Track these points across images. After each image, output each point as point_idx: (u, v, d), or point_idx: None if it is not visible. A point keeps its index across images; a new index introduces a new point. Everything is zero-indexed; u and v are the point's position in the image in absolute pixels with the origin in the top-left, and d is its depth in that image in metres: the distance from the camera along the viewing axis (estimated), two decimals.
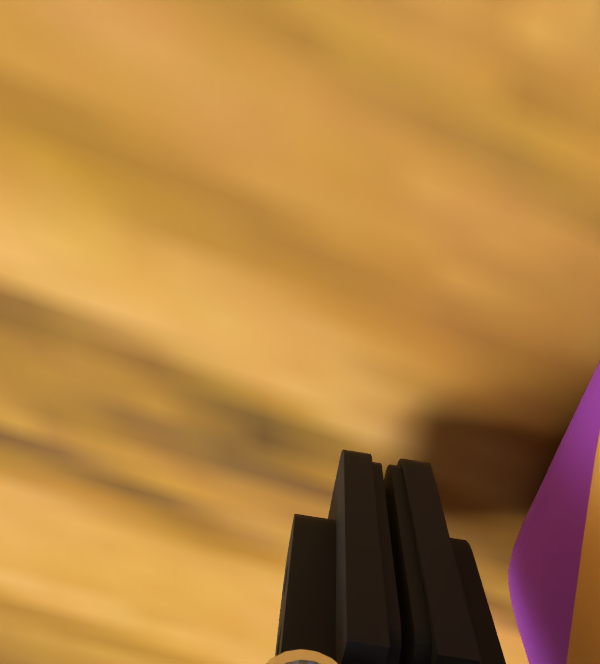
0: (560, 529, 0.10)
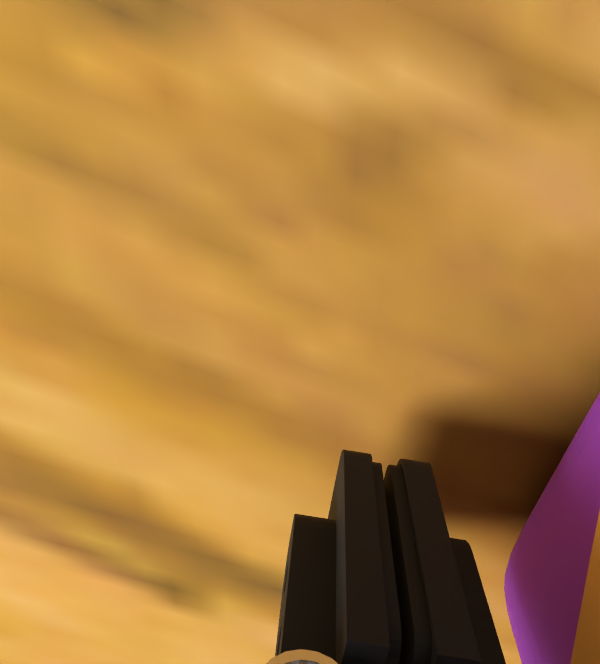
0: (565, 536, 0.10)
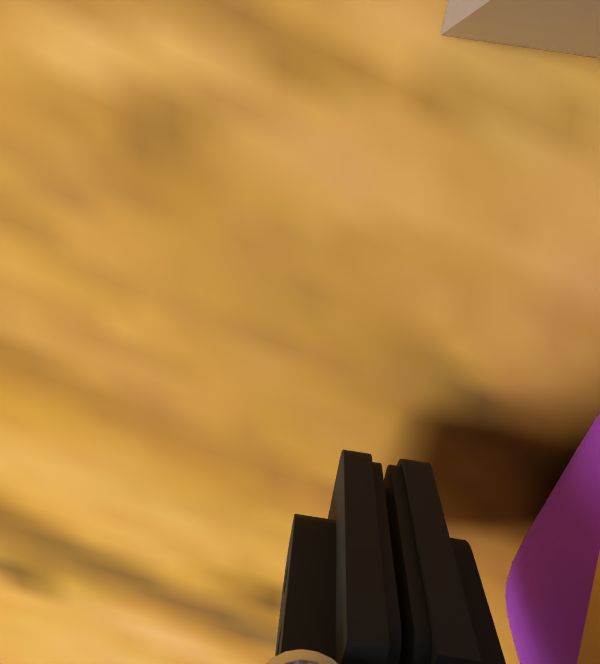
0: (568, 545, 0.10)
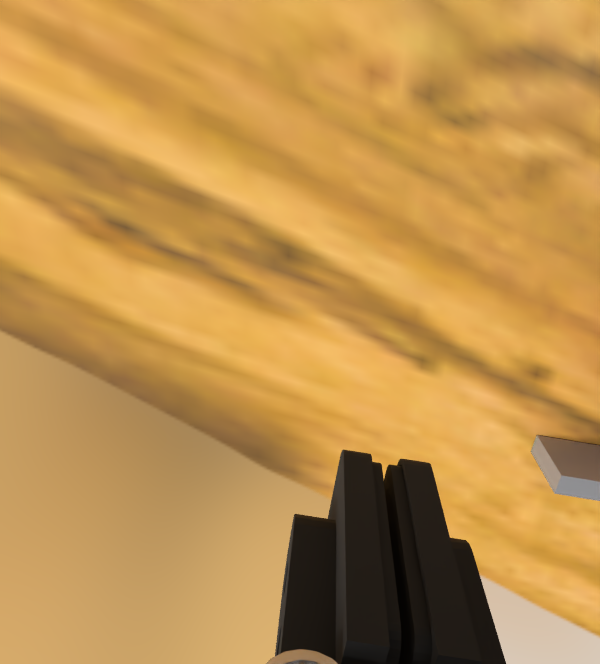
0: None
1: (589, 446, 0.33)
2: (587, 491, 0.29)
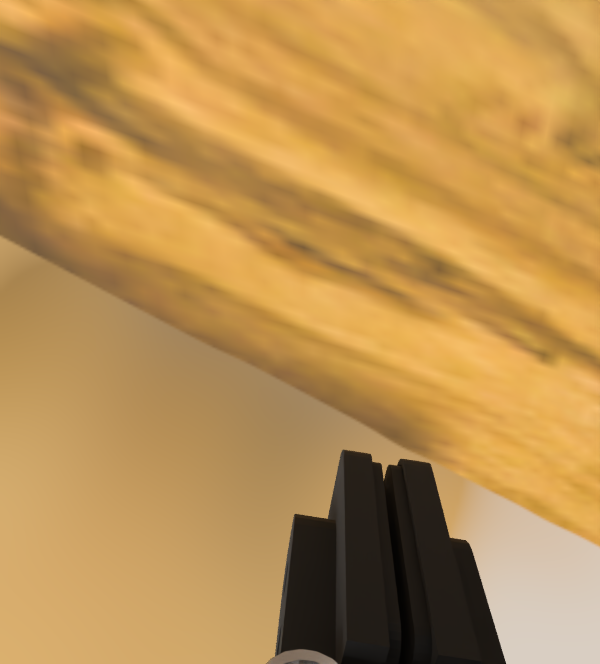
0: None
1: None
2: None
